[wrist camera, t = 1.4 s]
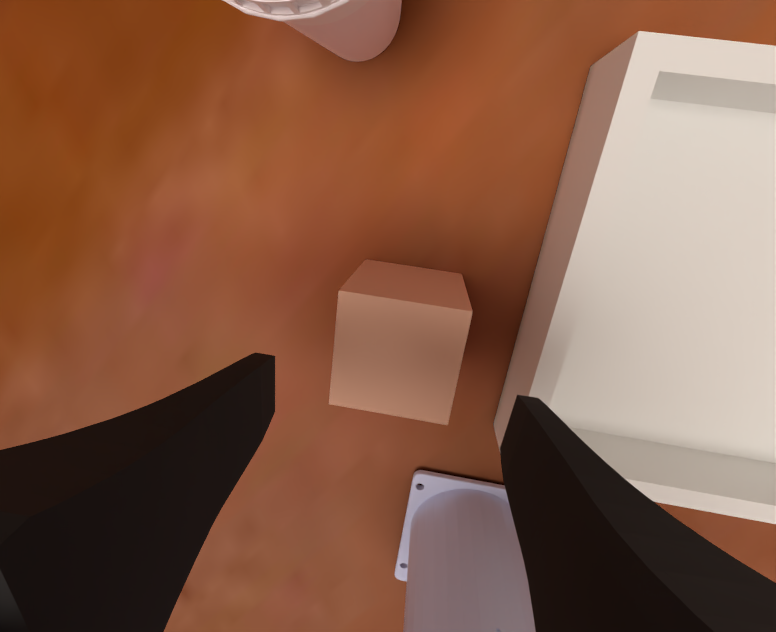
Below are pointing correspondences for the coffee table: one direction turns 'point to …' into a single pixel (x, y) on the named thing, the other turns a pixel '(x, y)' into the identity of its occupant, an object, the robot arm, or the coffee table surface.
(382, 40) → the smoothie
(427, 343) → the brown cube block
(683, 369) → the tray
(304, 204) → the coffee table surface
